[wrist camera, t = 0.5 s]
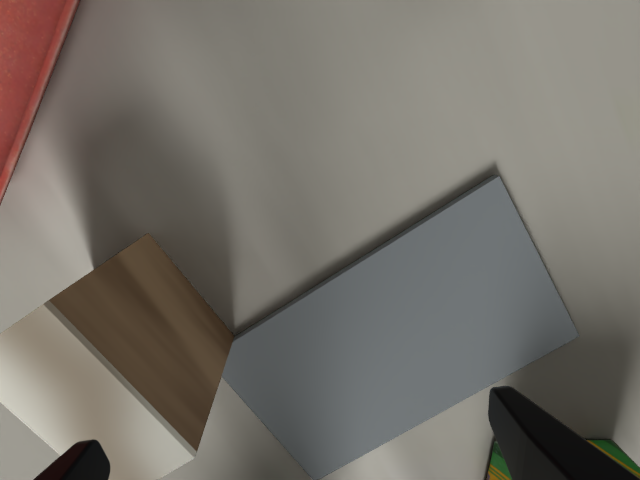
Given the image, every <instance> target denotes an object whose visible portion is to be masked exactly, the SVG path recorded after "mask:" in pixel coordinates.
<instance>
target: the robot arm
mask: <svg viewBox="0 0 640 480" xmlns="http://www.w3.org/2000/svg"><path fill="white" fill-rule="evenodd" d="M488 416H489V421H490V425H491V427H492V430H493V432H494V435H495V437H496V440H497V443H498V445H499V448H500V450H501V453H502V455H503V458H504V460H505V463H506V465H507V468H508V470H509V473H510V475H511V478H512V480H640V478H639V477H637V476H636V475H634V474H633V473H632V472H630V471H629V470H627V469H626V468H625V467H623V466H622V465H620V464H619V463H618V462H616V461H615V460H613V459H612V458H611V457H609V456H608V455H606V454H605V453H604V452H602V451H601V450H599V449H598V448H597V447H595V446H594V445H592V444H591V443H590V442H588V441H587V440H585V439H584V438H583V437H581V436H580V435H578V434H577V433H576V432H574V431H573V430H571V429H570V428H569V427H567V426H566V425H564V424H563V423H562V422H560V421H559V420H557V419H556V418H555V417H553V416H552V415H550V414H549V413H547V412H546V411H545V410H543V409H542V408H540V407H539V406H538V405H536V404H535V403H533V402H532V401H531V400H529V399H528V398H526V397H525V396H524V395H522V394H521V393H519V392H518V391H517V390H515V389H514V388H512V387H510V386H501V387H493V388H492V389H491V390H490V395H489V410H488ZM110 469H111V468H110V462H109V459H108V458H107V456H106V454H105V452H104V450H103V448H102V446H101V444H100V443H99V441H97V440H95V439H92V440H84V441H79V442H77V443H75V444H74V445H72V446H71V447H70V448H69V449H68V450H67V451H66V452H64V453H63V454H62V455H61V456H60V457H59V458H58V459H56V460H55V461H54V462H53V463H52V464H51V465H50V466H48V467H47V468H46V469H45V470H44V471H43V472H42V473H40V474H39V475H38V476H37V477H36V478H35V479H34V480H108V479H109V475H110Z"/></svg>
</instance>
